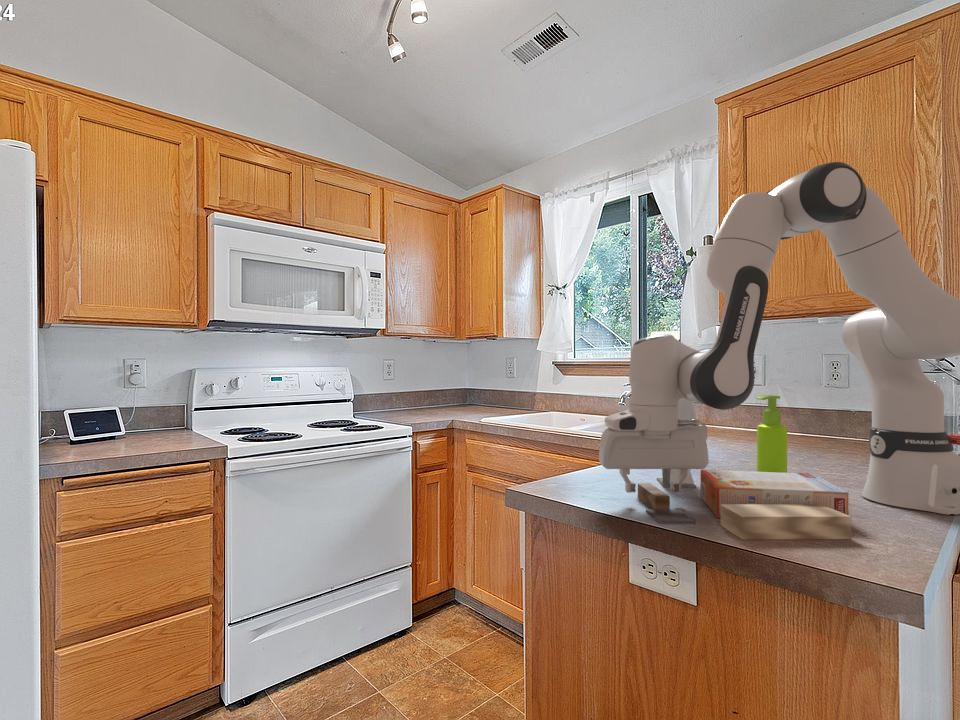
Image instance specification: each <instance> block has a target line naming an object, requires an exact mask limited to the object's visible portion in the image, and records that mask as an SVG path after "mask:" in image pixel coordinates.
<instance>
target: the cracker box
mask: <svg viewBox="0 0 960 720" xmlns="http://www.w3.org/2000/svg"><path fill="white" fill-rule="evenodd" d="M699 490H700V491H699V493H700V498H701V499H702V500H703V501H704V502H705V503H706V505H707V506H708V507H709V509H711V511H712V512H713V513H714V514H715V516H716V517H717V518H720V519H721V504H822V505H824V506H826V507H829V508H831V509H834V510H836V511H839V512H841V513H844V514H846V515H849V516H850V511H849V491H847V490H845V489H842V488H840V487H839V486H837V485H835V484H833V483H831V482H829V481H828V480H825V479H823V478H822V477H819V476H818V475H816V474H814V473H808V472H807V473H806V472H805V473H804V472H803V473H800V472H787V473H777V472H757V471H749V470H748V471H746V470H725V469H724V470H721V469H718V470H717V469H716V470H715V469H700V489H699Z"/></svg>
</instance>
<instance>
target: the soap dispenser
mask: <svg viewBox="0 0 960 720" xmlns="http://www.w3.org/2000/svg"><path fill="white" fill-rule="evenodd" d="M755 399H756V400H763V401H766V400H767V408H765V409H763V419H762V420H763V422H762V423H760V424H758V425H757V426H756V430H757V431H756V443H757V444H756V472H777V473H788V426H786V425H782V421H781V419H782V411H781V410H779V408H777V399H779V400H781V395H772V394H771V395H769V394H762V395H759V396H757V397H755Z"/></svg>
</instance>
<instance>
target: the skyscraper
mask: <svg viewBox="0 0 960 720" xmlns="http://www.w3.org/2000/svg"><path fill="white" fill-rule="evenodd" d="M696 417H697V415H696V409H695V402H693V401H689V400H685V399H683V398H681V399H679V400H678V419H679V420H697V418H696ZM661 471H662V473H661V474H662V477H656V481H657V482H658V481H659V482H660V483H659V482H658V483H659V484H660V485H661V487H664V488H665V487H666V488H670V487H671V485H670V481H675V479H676V477H677V475H678V473H677V472H676V469H661ZM691 471H692V469H687V476H686V478H685V480H684V481H683V483H681V488H690V489H697V485H696V484H695V481H694V479H693V475H692V472H691Z"/></svg>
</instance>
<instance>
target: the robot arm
mask: <svg viewBox="0 0 960 720" xmlns="http://www.w3.org/2000/svg"><path fill="white" fill-rule="evenodd" d="M894 217H895V216H893V214H892V212H891V211H890V209H889V208H888V206H887V204H886V203H885V202H884V200H883V199H882V198H881V196H880V195H879V194H878V193H877V192H876V191H875V190H874V189H873V188H871V187H867V186H866V185H865V182H864V180H863V178H862V176H861V174H860V173H859V172H858V170H856V169H855V168H854V167H853V166H851V165H849V164H847V163H845V162H841V161H832V162H827V163H823V164H819V165H816V166H814V167H813V168H811V169H809V170H806V171H804V172H801V173H798V174H796V175H794V176H792V177H790V178H788V179H787V180H785V181H784V182H782V183H781V184H780V185H778V186H776V187H775V188H773V189H771V190H769V191H767V192H763V191H754V192H747V193H745V194H743V195H740V196H739V197H738V198H737V199H735V200H734V202H733V203H732V205H731V207H730V208H729V210H728V211H727V212H726V215H725V217H724V218H723V220H722V223H721V225H720V227H719V229H718V231H717V234H716V235H715V236H716V237H715V240H713V244H712V248H711V250H710V252H709V253H710V254H709V256H708V257H709V258H708V260H707V268H706V269H707V270H706V276H707V278H708V281H709V282H710V283H711V285H712V286H713V287H714V289H716V290H718V291H719V292H720V293H721V294H723V296H724V297H723V298H724V302H725V303H724V309H723V312H722V315H721V320H720V325H719V327H718V331H717V335H716V340H715V342H714V344H713V345H712V347H711V348H710V349H709V350H708V351H705V352H704V351H701V350H698V349H695V348H693V347H691V346H689V345H686V344H684V343H683V342H681V341H679V340H678V339H677V338H675V337H674V336H673V335H671V334H669V333H667V334H665V333H664V334H658V335H652V336H651V335H650V336H647V337H643V338H640V339H638V340H636V341H635V342H634V344H632V348H631V351H630V360H629V374H628V376H629V378H628V379H629V384H630V388H631V393H630V397H629V401H628V403H629V406H628V407H629V408H628V409H625V410H622V411H619V412H616V413H613V414H609V415H607V416H605V418H604V425H605V427H607V428H606V429H605V430H603V432H602V433H601V437H600V442H599V451H598V452H599V453H598V461H599V464H600V465H601V466H602V467H603V468H604V469H606V470H619V474H620V477H622V479H623V481H624V483H625V484H624V486H625V487H624V489H625V492H626V493H637V492H636V487H637V486H636V484H637V483H635V482H634V481H631V480H630V478H629V476H630V474H631V470H662V469H676V472H677V473H678V475H677V477H676V479H675V481H670V485H671V487H669V489H670V492H673V493H682V487H681V483H683V481H684V480H685V478H686V476H687V469H691V470H706V468H707V466H708V465H709V462H710V461H709V460H710V459H709V451H708V449H709V448H708V445H707V439H708V426H707V425H706V424H705V423H704V422H702V421H701V420H700V419H696V420H679V419H678V400H679V399H681V398H683V399H685V400H689V401H693V402H694V403H696V404H701V405H706V406H707V407H710V408H712V409H715V410H719V411H720V410H724V411H725V410H731V409H734V408H737V407H739V406H741V405H742V404H743V403H744V402H745V401H746V400H747V399H748V398H749V397H750V395H751V394H752V391H753V390H754V389H753V388H754V386H755V379H756V378H755V362H754V361H755V359H754V358H755V351H756V348H757V347H756V346H757V342H758V338H759V333H760V329H761V325H762V322H763V321H762V320H763V317H764V314H765V309H766V305H767V301H768V295H769V294H768V293H769V277H770V272H771V269H772V265H773V262H774V259H775V256H776V253H777V250H778V248H779V247H778V246H779V244H780V241H781V240H787V239H790V238H793V237H797V236H801V235H805V234H809V233H812V232H814V231H819V232H821V233H822V234H823V235H824V236H825V237H826V240H827V242H828V245H829V248H830V250H831V252H832V254H833V257H834V259H835V261H836V263H837V265H838V267H839V269H840V272H841V274H842V276H843V279H844V281H845V283H846V285H847V287H848V288H849V290H850V291H851V292H853V293H854V294H856V295H858V296H861V297H862V298H865V299H867V300H868V301H869V302H871V303H872V304H873V305H874V307H871V308H868V309H864V310H862V311H860V312H857V313H855V314H852V315H851V316H849V317H848V318H847V320H845V322H844V323H843V327H842V329H841V330H842V331H841V339H842V342H843V345H844V346H845V348H846V350H848V351H849V352H850V353H851V354H852V355H854V356H855V358H856V359H858V361H859V363H860V365H861V366H862V368H863V370H864V374H865V375H866V378H867V381H868V386H869V391H870V401H871V402H870V403H871V404H870V405H871V426H870V427H869V428H868V445H869V450H870V456H869V457H870V458H869V463H868V464H869V465H868V471H867V476H866V479H865V480H866V481H865V484H864V487H863V488H862V489H863V490H862V493H861V496H862V497H863V498H865V499H867V500H870V501H873V502H875V503H879V504H883V505H888V506H894V507H898V508H904V509H911V510H919V511H925V512H926V511H927V512H932V513H937V514H942V515H949V516H951V515H950V514H954V515H960V455H958V454H957V453H956V452H955V451H954V450H955V449H954V447H953V445H958V446H960V434H957V433H952V434H950V435H949V434H948V433H947V432H946V431H945V396H944V395H945V394H944V391H943V390H942V389H941V387H940V386H939V385H938V384H937V383H935V382H933V381H931V380H930V379H929V378H928V377H927V376H926V375H925V373H924V371H923V368H922V367H921V364H920V360H927V359H928V360H939V359H946V358H947V359H948V358H953V357H957V356H960V298H958V297H955V296H954V295H952V294H950V293H949V292H947V291H946V290H944V289H943V288H942V287H940V286H939V285H938V284H937V283H936V282H935V281H933V280H932V279H931V278H930V277H929V276H928V275H927V274H926V273H925V271H923V269H922V268H921V267H920V265H919V264H918V263H917V260H916V259H915V258H914V256H913V254H912V252H911V249H910V247H909V246H908V244H907V241H906V239H905V238H904V235H903V234H902V231H901V229H900V226H899V225H898V223H897V221H896V219H895V218H894ZM875 306H876V307H875ZM628 475H629V476H628Z"/></svg>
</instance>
